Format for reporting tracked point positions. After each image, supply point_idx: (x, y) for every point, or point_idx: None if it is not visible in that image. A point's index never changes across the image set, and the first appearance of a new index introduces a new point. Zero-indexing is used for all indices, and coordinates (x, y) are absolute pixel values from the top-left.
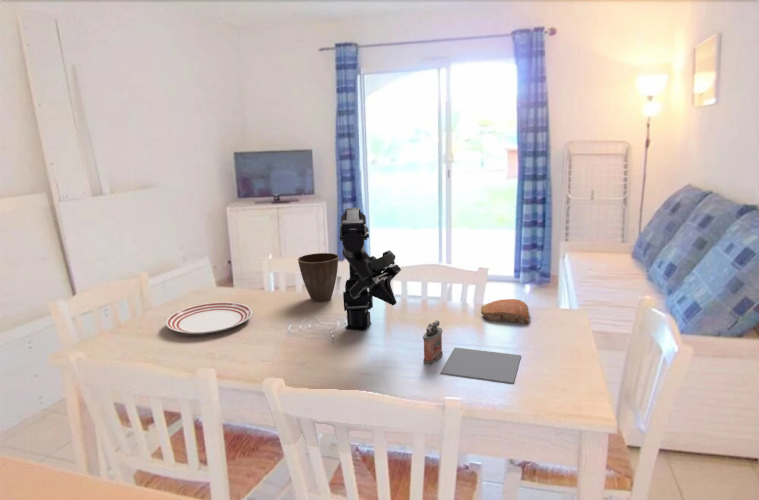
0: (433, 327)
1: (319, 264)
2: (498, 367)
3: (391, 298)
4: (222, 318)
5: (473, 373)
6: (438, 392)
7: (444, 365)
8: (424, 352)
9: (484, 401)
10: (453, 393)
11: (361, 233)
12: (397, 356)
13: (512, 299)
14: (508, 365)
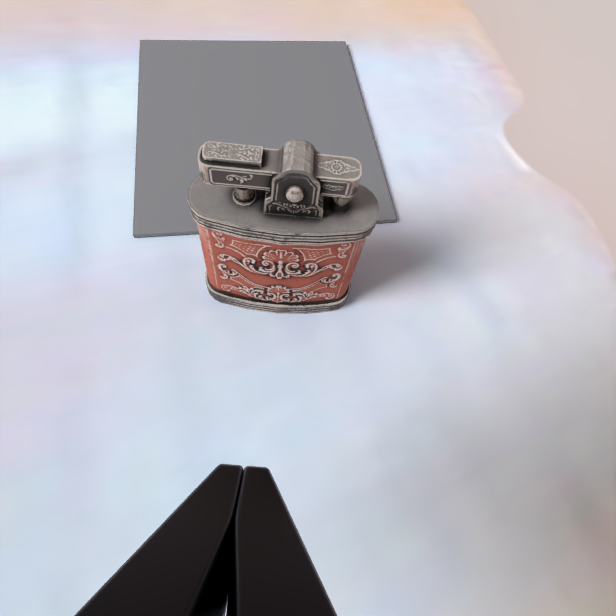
0: (314, 153)
1: None
2: (265, 79)
3: (290, 530)
4: None
5: (344, 129)
6: (515, 191)
7: None
8: (351, 274)
9: (478, 86)
10: (491, 155)
11: None
12: (330, 459)
13: None
14: (237, 59)
